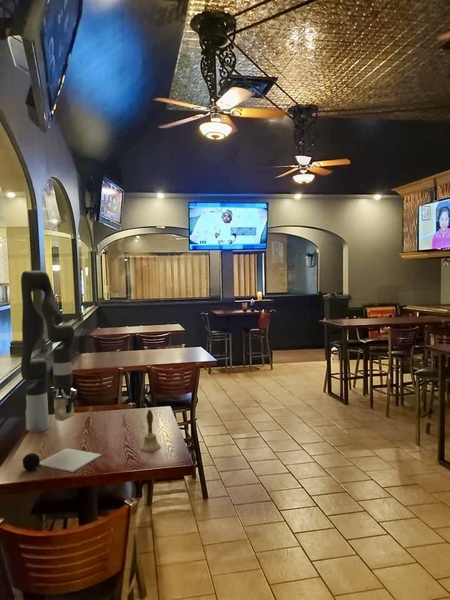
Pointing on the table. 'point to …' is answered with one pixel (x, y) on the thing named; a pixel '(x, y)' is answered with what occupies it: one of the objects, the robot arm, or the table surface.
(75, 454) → the mat
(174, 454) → the table surface
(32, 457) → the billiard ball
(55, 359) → the robot arm
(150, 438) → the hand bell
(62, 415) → the block
